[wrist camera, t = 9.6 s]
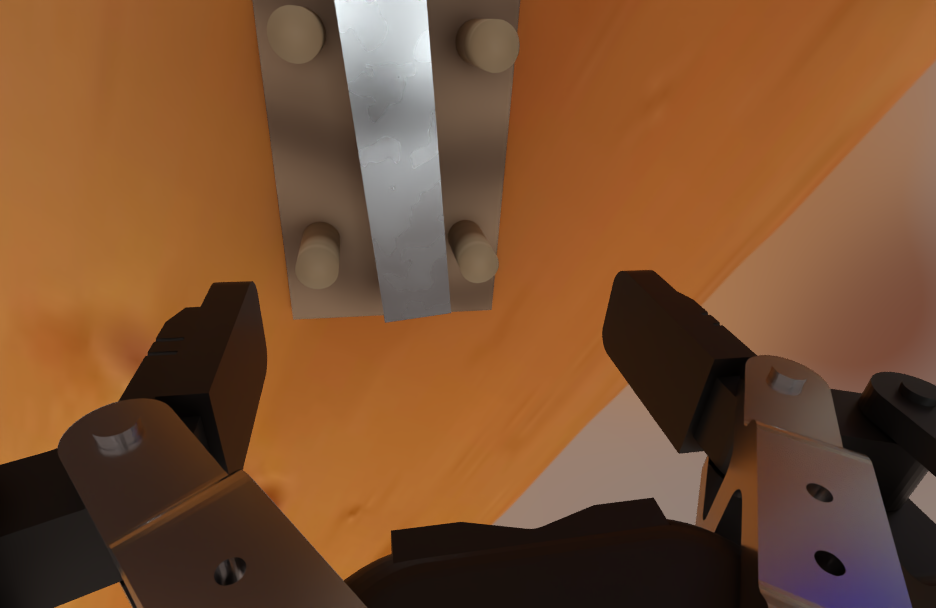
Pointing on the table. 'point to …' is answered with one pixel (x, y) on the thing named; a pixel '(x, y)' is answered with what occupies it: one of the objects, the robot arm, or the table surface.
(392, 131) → the bar
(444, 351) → the table surface
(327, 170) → the cradle
